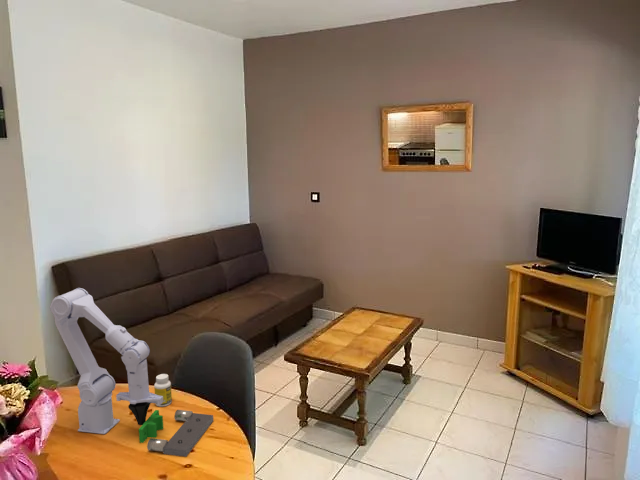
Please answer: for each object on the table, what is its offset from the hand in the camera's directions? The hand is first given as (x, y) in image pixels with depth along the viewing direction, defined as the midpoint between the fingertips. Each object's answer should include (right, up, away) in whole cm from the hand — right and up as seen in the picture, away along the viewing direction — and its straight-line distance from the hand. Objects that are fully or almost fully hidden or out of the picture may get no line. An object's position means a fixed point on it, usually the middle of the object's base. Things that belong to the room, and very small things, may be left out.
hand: (141, 423), depth 151 cm
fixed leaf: (+13, -3, -2) cm, 13 cm away
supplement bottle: (+1, 0, +17) cm, 17 cm away
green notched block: (+4, -3, 0) cm, 5 cm away
